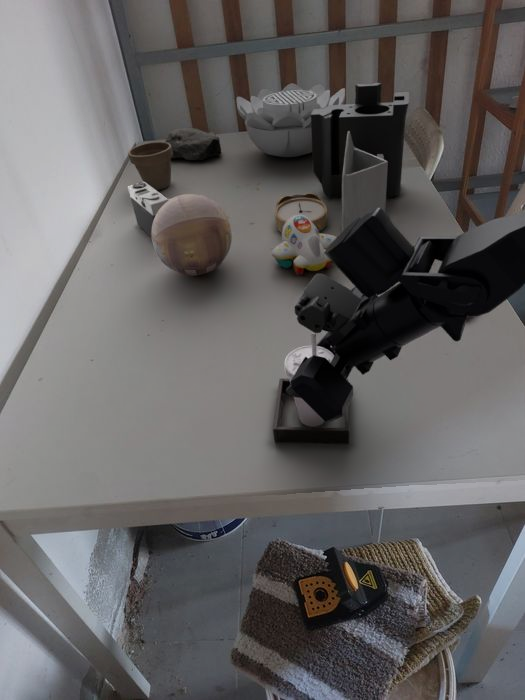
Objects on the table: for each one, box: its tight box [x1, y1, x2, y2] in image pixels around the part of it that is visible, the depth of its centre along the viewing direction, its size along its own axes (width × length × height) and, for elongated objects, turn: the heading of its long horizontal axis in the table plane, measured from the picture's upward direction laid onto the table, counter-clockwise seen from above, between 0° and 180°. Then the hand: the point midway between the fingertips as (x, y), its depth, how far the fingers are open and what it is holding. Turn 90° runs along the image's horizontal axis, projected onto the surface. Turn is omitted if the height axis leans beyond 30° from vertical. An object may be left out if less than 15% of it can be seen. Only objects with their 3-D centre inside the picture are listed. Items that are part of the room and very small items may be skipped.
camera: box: [127, 181, 171, 239], centre depth 115 cm, size 14×8×10 cm, turn 32°
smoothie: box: [283, 331, 334, 427], centre depth 64 cm, size 6×6×14 cm
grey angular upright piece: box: [341, 131, 388, 233], centre depth 104 cm, size 16×8×19 cm, turn 166°
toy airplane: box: [271, 215, 338, 275], centre depth 98 cm, size 13×9×15 cm
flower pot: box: [127, 141, 173, 191], centre depth 137 cm, size 12×11×10 cm
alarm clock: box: [274, 192, 328, 233], centre depth 114 cm, size 11×5×15 cm
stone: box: [165, 127, 222, 161], centre depth 153 cm, size 18×9×10 cm
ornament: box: [151, 193, 233, 276], centre depth 98 cm, size 15×15×15 cm
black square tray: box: [272, 378, 350, 445], centre depth 68 cm, size 9×9×2 cm
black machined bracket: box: [311, 82, 410, 199], centre depth 118 cm, size 12×21×22 cm, turn 77°
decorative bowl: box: [236, 83, 346, 158], centre depth 146 cm, size 30×30×15 cm
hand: (300, 374), depth 65 cm, fingers open, 7 cm apart
